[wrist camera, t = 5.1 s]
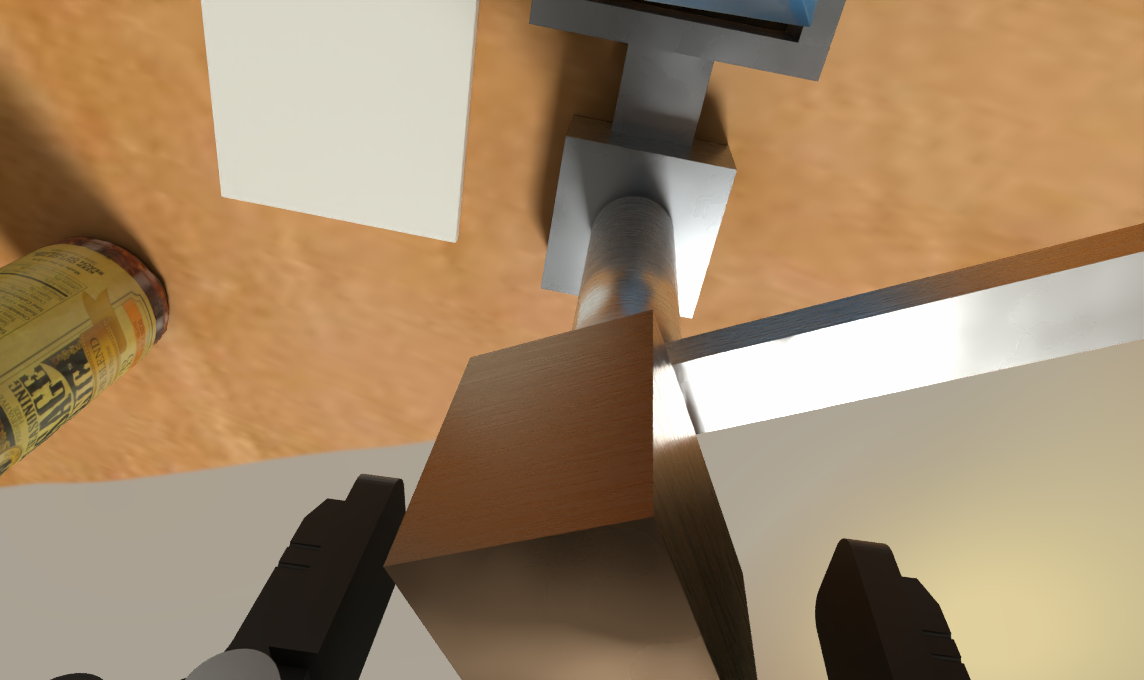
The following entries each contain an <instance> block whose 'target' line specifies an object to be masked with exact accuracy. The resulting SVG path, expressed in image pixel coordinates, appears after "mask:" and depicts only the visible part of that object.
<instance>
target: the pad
mask: <svg viewBox="0 0 1144 680" xmlns="http://www.w3.org/2000/svg"><path fill="white" fill-rule="evenodd" d="M201 5H202V14H203V24H204V33H205V43H206V52H207V62H208V71H209V81H210V90H211V100H212V110H213V119H214V129H215V138H216V148H217V157H218V167H219V176H220V186H221V195H222V197H227V198H232V199H237V200H242V201H247V202H252V203H257V204H262V205H267V206H272V207H277V208H283V209H288V210H293V211H298V212H303V213H308V214H313V215H318V216H323V217H328V218H333V219H338V220H343V221H348V222H353V223H358V224H363V225H368V226H373V227H378V228H383V229H388V230H393V231H398V232H403V233H409V234H414V235H419V236H424V237H429V238H434V239H439V240H444V241H449V242H454V243H456V241H457V240H458V237H459V226H460V215H461V203H462V192H463V181H464V169H465V158H466V147H467V136H468V124H469V113H470V102H471V90H472V79H473V68H474V57H475V45H476V34H477V23H478V11H479V0H201Z"/></svg>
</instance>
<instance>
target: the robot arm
mask: <svg viewBox="0 0 1144 680" xmlns="http://www.w3.org/2000/svg"><path fill="white" fill-rule="evenodd" d="M404 495H405V494H404V483H403V480H402V479H398V478H390V477H383V476H375V475H368V474H361V475H360V476H359V477H358V478H357V480H356V481H355V483H354V485H353V487H352V489H351V491H350V493H349V495H348V497H347V498H346V500H345V501H342V500H334V499H326V500H325V501H324V502H323V503H321V504H320V505H319V506H318V507H317V508H315V509H314V510H313V511H312V512H311V513H309V514H308V515H307V516H306V517H305V518H304V519H303V521H302V522H301V524H300V526H299V528H298V529H297V531H296V533H295V534H294V536H293V538H292V540H291V541H290V546H289V547H287V548H286V550H285V552H284V553H283V555H282V557H281V559H280V561H279V564H278V567H275V569H274V571H273V572H272V574H271V576H270V578H269V579H268V581H267V583H266V584H265V586H264V588H263V589H262V591H261V593H260V595H259V597H258V598H257V600H256V601H255V603H254V605H253V607H252V608H251V610H250V612H249V613H248V615H247V617H246V619H245V620H244V622H243V624H242V625H241V627H240V629H239V631H238V632H237V634H236V636H235V638H234V639H233V641H232V642H231V644H230V645H229V647H228V648H227V649H226V650H225V651H224V652H223V653H220V654H218V655H216V656H214V657H212V658H210V659H208V660H207V661H205V662H203V663H202V664H201V665H199V666H198V667H197V668H196V669H194V670H193V672H191V674H189V676H188V677H187V678H184V679H181V680H359V677H360V675H361V672H362V669H363V667H364V664H365V662H366V659H367V657H368V654H369V651H370V649H371V646H372V644H373V641H374V638H375V636H376V633H377V630H378V628H379V625H380V623H381V620H382V618H383V615H384V612H385V610H386V607H387V605H388V602H389V600H390V597H391V594H392V592H393V589H394V587H395V583H394V581H393V580H392V578H391V577H390V576H389V574H388V573H387V571H386V570H385V568H384V567H383V566H384V564H385V561H386V559H387V556H388V554H389V552H390V549H391V547H392V544H393V542H394V540H395V537H396V535H397V532H398V530H399V528H400V525H401V523H402V520H403V518H404V516H405V513H406V510H405V496H404ZM815 620H816V628H817V633H818V637H819V641H820V645H821V650H822V654H823V658H824V662H825V667H826V671H827V676H828V680H971V679H970V677H969V675H968V672H967V670H966V668H965V665H964V664H963V663H961V656H960V653H959V651H958V648H957V646H956V644H955V642H954V640H953V639H951V632H950V629H949V627H948V624H947V622H946V620H945V618H944V615H943V613H942V610H941V608H940V606H939V604H938V603H937V602H936V601H935V599H934V598H933V597H932V596H931V595H930V593H929V592H928V591H927V590H926V589H925V588H924V586H923V585H922V584H921V583H920V582H919V580H918V579H917V578H909V577H902V576H901V574H900V571H899V568H898V566H897V563H896V561H895V558H894V555H893V553H892V551H891V549H890V547H889V546H888V545H886V544H883V543H875V542H867V541H860V540H852V539H841V540H840V541H839V543H838V545H837V547H836V549H835V552H834V554H833V557H832V559H831V562H830V564H829V566H828V569H827V571H826V574H825V576H824V579H823V581H822V584H821V586H820V588H819V591H818V594H817V598H816V606H815ZM51 680H103V679H101V678H100V677H98V676H95V675H92V674H87V673H74V674H67V675H63V676H60V677H56V678H53V679H51Z"/></svg>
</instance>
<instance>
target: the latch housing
mask: <svg viewBox="0 0 1144 680" xmlns="http://www.w3.org/2000/svg"><path fill="white" fill-rule="evenodd" d="M845 1H846V0H818V3H817V7H816V10H815V13H814V17H813V20H812V24H811V27H805V26H799V25H793V24H788V26H787V29H786V32H782V31H777V30H772V29H767V28H762V27H757V26H752V25H747V24H742V23H737V22H732V21H727V20H722V19H717V18H712V17H707V16H702V15H697V14H692V13H687V12H682V11H677V10H672V9H667V8H662V7H657V6H652V5H647V4H642V3H637V2H632V1H627V0H532V5H531V13H530V21H529V24H533V25H538V26H543V27H548V28H553V29H558V30H563V31H568V32H573V33H578V34H583V35H588V36H593V37H598V38H603V39H608V40H613V41H618V42H623V43H628V49H627V54H626V59H625V64H624V69H623V74H622V79H621V84H620V89H619V94H618V99H617V104H616V109H615V114H614V119H613V123H612V122H607V121H602V120H597V119H592V118H587V117H582V116H577V115H574V117H573V119H572V122H571V124H570V127H569V129H568V132H567V134H566V138H565V144H564V150H563V156H562V162H561V168H560V174H559V180H558V186H557V193H556V199H555V205H554V211H553V217H552V223H551V229H550V235H549V241H548V247H547V253H546V260H545V266H544V272H543V278H542V284H541V288H542V289H547V290H552V291H557V292H562V293H567V294H572V295H577V296H579V291H580V286H581V281H582V276H583V271H584V266H585V261H586V256H587V251H588V246H589V241H590V236H591V231H592V226H593V223H594V220H595V218H596V216H597V215H598V213H599V212H600V211H601V210H602V209H603V208H604V207H605V206H606V205H607V204H609V203H610V202H612V201H614V200H616V199H619V198H622V197H628V196H638V197H644V198H647V199H650V200H652V201H654V202H656V203H657V204H659V205H660V206H661V207H662V208H663V209H664V210H665V211H666V212H667V214H668V215H669V217H670V219H671V221H672V224H673V228H674V237H675V252H676V266H677V281H678V295H679V309H680V316H683V317H688V318H692V316H693V313H694V309H695V306H696V303H697V299H698V296H699V293H700V289H701V286H702V283H703V280H704V276H705V273H706V270H707V266H708V263H709V260H710V257H711V253H712V250H713V247H714V243H715V240H716V237H717V233H718V230H719V227H720V224H721V220H722V217H723V214H724V210H725V207H726V204H727V201H728V197H729V194H730V191H731V187H732V184H733V181H734V177H735V174H736V171H737V169H736V166H735V163H734V160H733V157H732V154H731V151H730V148H729V146H727V145H722V144H717V143H712V142H707V141H702V140H697V139H694V136H695V132H696V128H697V124H698V120H699V117H700V113H701V109H702V105H703V101H704V98H705V94H706V90H707V86H708V82H709V79H710V75H711V71H712V67H713V63H714V61H718V62H723V63H728V64H733V65H738V66H743V67H748V68H753V69H758V70H763V71H768V72H773V73H778V74H783V75H788V76H793V77H798V78H803V79H808V80H813V81H818V80H819V77H820V74H821V71H822V68H823V65H824V62H825V60H826V57H827V54H828V51H829V48H830V45H831V42H832V39H833V36H834V33H835V30H836V28H837V25H838V22H839V19H840V16H841V13H842V10H843V7H844V4H845Z"/></svg>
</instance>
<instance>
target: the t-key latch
mask: <svg viewBox="0 0 1144 680" xmlns="http://www.w3.org/2000/svg"><path fill="white" fill-rule="evenodd" d="M1141 339H1144V223H1143V224H1139V225H1135V226H1131V227H1127V228H1123V229H1119V230H1115V231H1111V232H1107V233H1103V234H1099V235H1095V236H1091V237H1087V238H1083V239H1079V240H1075V241H1071V242H1067V243H1063V244H1059V245H1055V246H1051V247H1047V248H1043V249H1039V250H1035V251H1031V252H1027V253H1023V254H1019V255H1015V256H1011V257H1007V258H1003V259H999V260H995V261H991V262H987V263H983V264H979V265H975V266H971V267H967V268H963V269H959V270H955V271H951V272H947V273H943V274H939V275H935V276H931V277H927V278H923V279H919V280H915V281H911V282H907V283H903V284H899V285H895V286H891V287H887V288H883V289H879V290H875V291H871V292H867V293H863V294H859V295H855V296H851V297H847V298H843V299H839V300H835V301H831V302H827V303H823V304H819V305H815V306H811V307H807V308H803V309H799V310H795V311H791V312H787V313H783V314H779V315H775V316H771V317H767V318H763V319H759V320H755V321H751V322H747V323H743V324H739V325H736V326H732V327H728V328H724V329H720V330H716V331H712V332H708V333H704V334H700V335H696V336H692V337H688V338H684V339H682V338H681V324H680V309H679V295H678V281H677V266H676V252H675V237H674V228H673V224H672V221H671V219H670V217H669V215H668V214H667V212H666V211H665V210H664V209H663V208H662V207H661V206H660V205H659V204H657V203H656V202H654V201H652V200H650V199H647V198H644V197H638V196H628V197H622V198H619V199H616V200H614V201H612V202H610V203H609V204H607V205H606V206H605V207H604V208H603V209H602V210H601V211H600V212H599V213H598V215H597V216H596V218H595V220H594V223H593V226H592V231H591V236H590V241H589V246H588V251H587V256H586V261H585V266H584V271H583V276H582V281H581V286H580V291H579V297H578V302H577V307H576V312H575V317H574V322H573V327H572V331H569V332H566V333H562V334H558V335H554V336H550V337H547V338H543V339H539V340H535V341H532V342H528V343H524V344H520V345H516V346H513V347H509V348H505V349H501V350H498V351H494V352H490V353H486V354H482V355H479V356H475V357H471V358H470V360H469V362H468V365H467V367H466V369H465V372H464V374H463V377H462V379H461V381H460V384H459V386H458V389H457V391H456V393H455V396H454V398H453V401H452V403H451V405H450V408H449V410H448V413H447V415H446V417H445V420H444V422H443V424H442V427H441V429H440V432H439V434H438V436H437V439H436V441H435V444H434V446H433V449H432V451H431V453H430V456H429V458H428V461H427V463H426V465H425V468H424V470H423V472H422V475H421V477H420V480H419V482H418V485H417V488H416V489H415V492H414V494H413V496H412V499H411V501H410V504H409V506H408V508H407V511H406V513H405V516H404V518H403V520H402V523H401V525H400V528H399V530H398V532H397V535H396V537H395V540H394V542H393V544H392V547H391V549H390V552H389V554H388V556H387V559H386V561H385V564H384V566H383V567H384V568H385V570H386V571H387V573H388V574H389V576H390V577H391V578H392V580H393V581H394V583H395V584H396V585H397V587H398V589H399V590H400V591H401V593H402V594H403V596H404V597H405V599H406V600H407V601H408V603H409V604H410V606H411V607H412V609H413V610H414V611H415V613H416V614H417V616H418V617H419V619H420V620H421V622H422V623H423V625H424V626H425V627H426V629H427V630H428V632H429V633H430V635H431V636H432V638H433V639H434V640H435V642H436V643H437V645H438V646H439V648H440V649H441V651H442V652H443V653H444V655H445V656H446V658H447V659H448V661H449V662H450V663H451V665H452V666H453V668H454V669H455V671H456V672H457V674H458V675H459V676H460V678H461V679H462V680H757V672H756V666H755V658H754V651H753V643H752V636H751V629H750V622H749V615H748V607H747V601H746V593H745V586H744V578H743V572H742V569H741V567H740V564H739V561H738V558H737V555H736V552H735V549H734V546H733V543H732V540H731V537H730V534H729V531H728V528H727V525H726V522H725V520H724V517H723V514H722V511H721V508H720V505H719V502H718V499H717V496H716V493H715V490H714V487H713V484H712V481H711V478H710V475H709V472H708V470H707V467H706V464H705V461H704V458H703V455H702V452H701V449H700V446H699V443H698V440H697V437H696V434H700V433H705V432H709V431H714V430H719V429H724V428H728V427H733V426H738V425H742V424H747V423H752V422H756V421H761V420H766V419H771V418H775V417H780V416H784V415H789V414H794V413H799V412H803V411H808V410H812V409H818V408H822V407H827V406H832V405H836V404H841V403H845V402H850V401H855V400H860V399H864V398H869V397H874V396H879V395H883V394H888V393H892V392H897V391H902V390H907V389H911V388H916V387H921V386H925V385H930V384H935V383H940V382H944V381H949V380H953V379H958V378H963V377H968V376H972V375H977V374H982V373H987V372H991V371H996V370H1000V369H1005V368H1010V367H1014V366H1019V365H1024V364H1028V363H1033V362H1038V361H1043V360H1047V359H1052V358H1057V357H1062V356H1066V355H1071V354H1076V353H1080V352H1085V351H1090V350H1095V349H1099V348H1104V347H1109V346H1113V345H1118V344H1123V343H1127V342H1132V341H1137V340H1141Z"/></svg>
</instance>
